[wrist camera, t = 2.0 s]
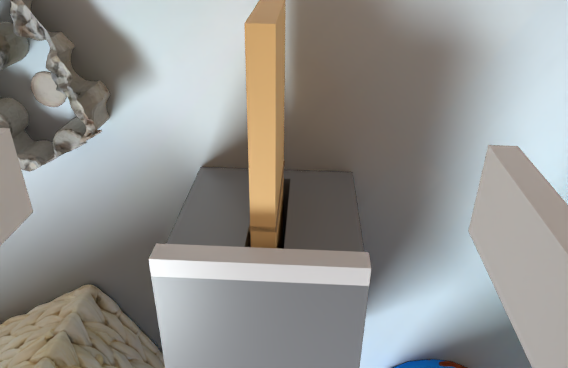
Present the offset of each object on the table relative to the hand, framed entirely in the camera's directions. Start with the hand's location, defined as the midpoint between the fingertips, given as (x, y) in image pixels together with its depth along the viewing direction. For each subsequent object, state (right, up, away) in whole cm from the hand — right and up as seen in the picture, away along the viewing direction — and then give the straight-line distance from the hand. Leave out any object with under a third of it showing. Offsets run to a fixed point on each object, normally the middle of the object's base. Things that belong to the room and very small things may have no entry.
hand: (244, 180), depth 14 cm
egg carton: (-15, +7, +16) cm, 23 cm away
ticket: (0, 0, +17) cm, 17 cm away
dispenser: (0, -5, +22) cm, 22 cm away
